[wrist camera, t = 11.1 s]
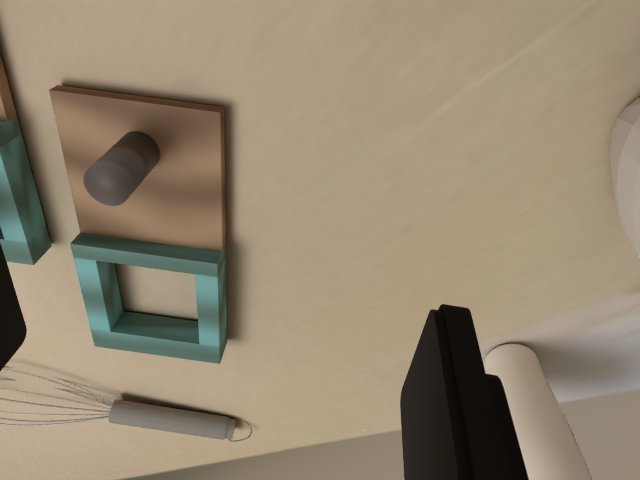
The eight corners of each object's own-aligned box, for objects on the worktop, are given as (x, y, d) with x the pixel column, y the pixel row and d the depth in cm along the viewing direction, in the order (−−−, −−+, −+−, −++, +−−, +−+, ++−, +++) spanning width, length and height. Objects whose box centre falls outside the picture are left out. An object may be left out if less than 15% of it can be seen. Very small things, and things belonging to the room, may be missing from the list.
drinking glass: (493, 388, 53) (530, 534, 41) (463, 351, 50) (492, 496, 38) (554, 366, 50) (614, 515, 38) (526, 326, 47) (580, 473, 35)
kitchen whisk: (250, 437, 63) (239, 484, 57) (-12, 380, 61) (-48, 423, 56) (257, 408, 59) (246, 456, 54) (-21, 347, 58) (-60, 391, 52)
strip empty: (57, 85, 37) (-2, 118, 31) (224, 107, 37) (196, 144, 31) (107, 325, 52) (74, 378, 46) (227, 342, 52) (208, 397, 46)
